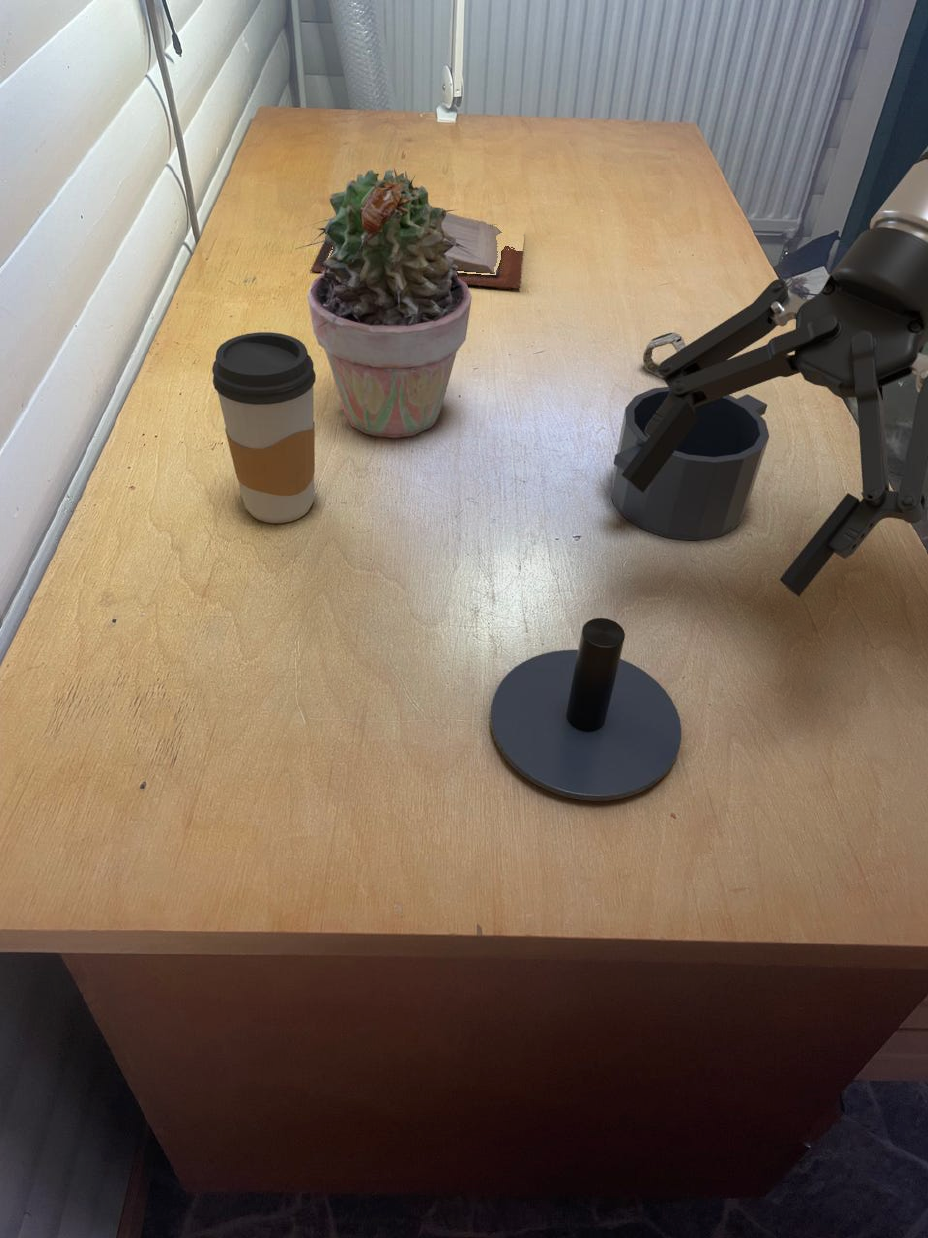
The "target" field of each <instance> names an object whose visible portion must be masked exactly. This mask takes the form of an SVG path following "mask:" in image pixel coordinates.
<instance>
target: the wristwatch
mask: <svg viewBox="0 0 928 1238" xmlns="http://www.w3.org/2000/svg"><path fill="white" fill-rule="evenodd" d="M666 345H672V347H673V348H674V350H675V351H676V353H677V352H678V351H680V350H681V349H683V348H684V347H686V346H687V345H686V342H685V339H684V337H683V336H682V335H681V334H679V333H677V332H667V333H665V334H661V335H658V336H657V337H654V338H652V339H650V341H649V342H648V343H647V345H646V348H645V349H644V351H643V355H642V362H643V367H644V368H645V370H646V371H647V372H648V373H650V374H652V375H655V376H656V377H658V378H660V379H662V380H664V379H663V378H662V377H661V375H660V374H659V372H658V367H659V365H657V364H655V361H654V360H653V358H652V357H653V351H654V350H655V349H656V348H659V347H664V346H666Z"/></svg>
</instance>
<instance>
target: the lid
mask: <svg viewBox="0 0 928 1238" xmlns="http://www.w3.org/2000/svg"><path fill="white" fill-rule="evenodd" d="M623 628H624V627H622V626H621V625H620V624H619V623H618V622H616V621H615V620H612V619H610V618H606V617H605V618H604V617H595V618H592V619H589V620H588V621H586V622H585V623H584V624H583V626H582V628H581V632H580V638H579V644H578V649H562V650H555V651H549V652H545V653H541V654H539V655H535V656H533V657H530V658H528V659H526V660H525V661H523V662H521V663H519V664H517V665H516V666H514V668H512V669H511V670H510V671H509V672H508V673H507V674H506V675H505V676H504V677H503V678H502V680H501V681H500V682H499V684H498V686H497V688H496V690H495V692H494V695H493V698H492V701H491V706H490V727H491V732H492V735H493V738H494V739H493V740H494V742H495V743H496V746H497V749H498V750H499V751H500V753H501V754H502V755H503V757H504V759H505V760H506V761H507V762H508V764H510V766H511V767H512V768H513V769H514V770H515V771H516V772H517V773H519V774H520V775H521V776H522V777H524V778H525V779H526V780H528V781H530V782H531V783H533V784H534V785H536V786H538V787H540V788H542V789H544V790H545V791H549V792H551V793H553V794H556V795H558V796H563V797H565V798H569V799H576V800H580V801H590V802H593V801H594V802H602V801H603V802H604V801H613V800H614V801H615V800H620V799H624V798H628V797H631V796H635V795H636V794H639V793H641V792H644V791H645V790H648V789H649V788H652V787H653V786H654V785H655V784H656V783H658V782H659V781H660V780H661V779H663V778H664V777H665V775H666V774H667V773H668V772H669V771H670V770H671V768H672V766H673V765H674V762H675V761H676V759H677V756H678V754H679V750H680V748H681V741H682V726H681V725H682V724H681V718H680V715H679V713H678V710H677V708H676V706H675V703H674V702H673V700H672V698H671V697H670V695H669V694H668V692H667V691H666V690H665V688H663V686H662V685H661V684H660V683H659V682H658V681H657V680H655V679H654V677H652V676H651V675H650V674H649V673H647V672H646V671H644V670H643V669H642V668H640V667H638V666H637V665H635V664H633V663H631V662H629V661H627V660H625V659H622V658H621V656H622V651H623V648H624V647H623V646H624V642H625V638H626V634H625V633H626V632H625V630H624V629H623Z"/></svg>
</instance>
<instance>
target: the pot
mask: <svg viewBox="0 0 928 1238" xmlns="http://www.w3.org/2000/svg"><path fill="white" fill-rule="evenodd" d="M668 394H669V387H668V386H662V387H654V388H650V389H648V390H646V391H644V392H642V393H639V394H637V395H635V396H634V397H633V398H632V399H631V400H630V402H629V403H628V404H627V405H626V407H625V408H624V412H623V419H622V423H621V429H620V435H619V440H618V446H617V451H616V453H615V455H614V459H613V471H612V472H613V473H612V477H611V487H610V488H611V489H610V495H611V501H612V502H613V504H614V506H615V508H616V509H617V511H618V513H620V514H621V515H622V516H623V517H624V518H625V519H626V520H627V521H629V522H630V523H632V524H633V525H635V526H636V527H638V528H640V529H642V530H644V531H645V532H648V533H651V534H654V535H656V536H660V537H663V538H667V539H673V540H680V541H704V540H710V539H715V538H718V537H721V536H724V535H726V534H728V533H730V532H731V531H733V530H735V528H737V526H739V524H740V523H741V522H742V519H743V518H744V514H745V513H746V511H747V508H748V506H749V502H750V498H751V495H752V492H753V489H754V486H755V484H756V483H755V482H756V480H757V477H758V474H759V471H760V467H761V465H762V461H763V458H764V455H765V452H766V449H767V445H768V442H769V440H770V434H769V433H770V432H769V429H768V424H767V421H766V420H765V419H764V417H762V416H763V415H765V414H766V411H767V408H768V404H767V403H766V402H763V401H761V400H760V399H758V398H756V397H755V396H753V395H750V394H749V393H747V394H744V395H742V396H740V397H738V398H737V397H735V396H733V395H731V394H730V395H727V396H724V397H722V398H719V399H716V400H714V401H711V402H708V403H705V404H703V405H700V406H697V407H695V413H696V414H697V415H698V417H699V419H698V420H697V422H696V423H695V425H694V426H693V427H692V429H691V430H690V431H689V433H688V434H687V435H686V437H685V438H684V439H683V441H682V442H681V443H680V445H679V446H678V447H677V449H676V450H675V451H674V453H673V454H672V455H671V457H670V458H669V459H668V461H667V462H666V463H665V465H664V466H663V467H662V469H661V470H660V471H659V473H658V474H657V475H656V477H655V478H654V479H653V481H652V482H651V483H650V485H649V486H648V487H647V489H646V490H645V491H644V493H642V492H641V491H639V490H638V489H636V488H635V487H634V486H633V485H632V484H631V483H629V482H628V481H627V480H626V479H625V478H624V477H623V476H622V473H623V472H624V470H625V469H626V468H627V466H628V465H629V464H630V462H631V461H632V460H633V458H634V457H635V456H636V454H637V453H638V452H639V450H640V449H641V448H642V446H643V445H644V444H645V442H646V441H647V440H648V438H649V437H648V436H647V435H646V434H645V433H644V431H645V428H646V425H647V424H648V422H649V421H650V420H651V419H652V417H653V416H654V414H655V413H656V411H657V410H658V409H659V407H660V406H661V405H662V403H663V402H664V401H665V399H666V398H667V396H668Z"/></svg>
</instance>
